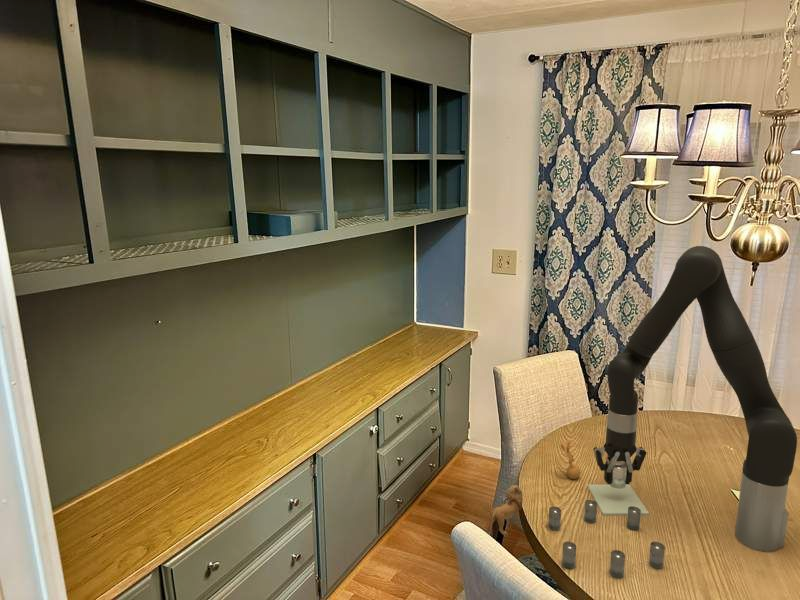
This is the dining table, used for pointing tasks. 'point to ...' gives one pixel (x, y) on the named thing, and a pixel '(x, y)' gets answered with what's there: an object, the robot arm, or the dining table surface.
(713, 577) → the dining table surface
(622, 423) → the robot arm
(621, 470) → the clear rounded cylinder
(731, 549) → the dining table surface
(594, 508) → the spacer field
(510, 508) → the lion figurine
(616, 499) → the sage mat
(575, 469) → the figurine
